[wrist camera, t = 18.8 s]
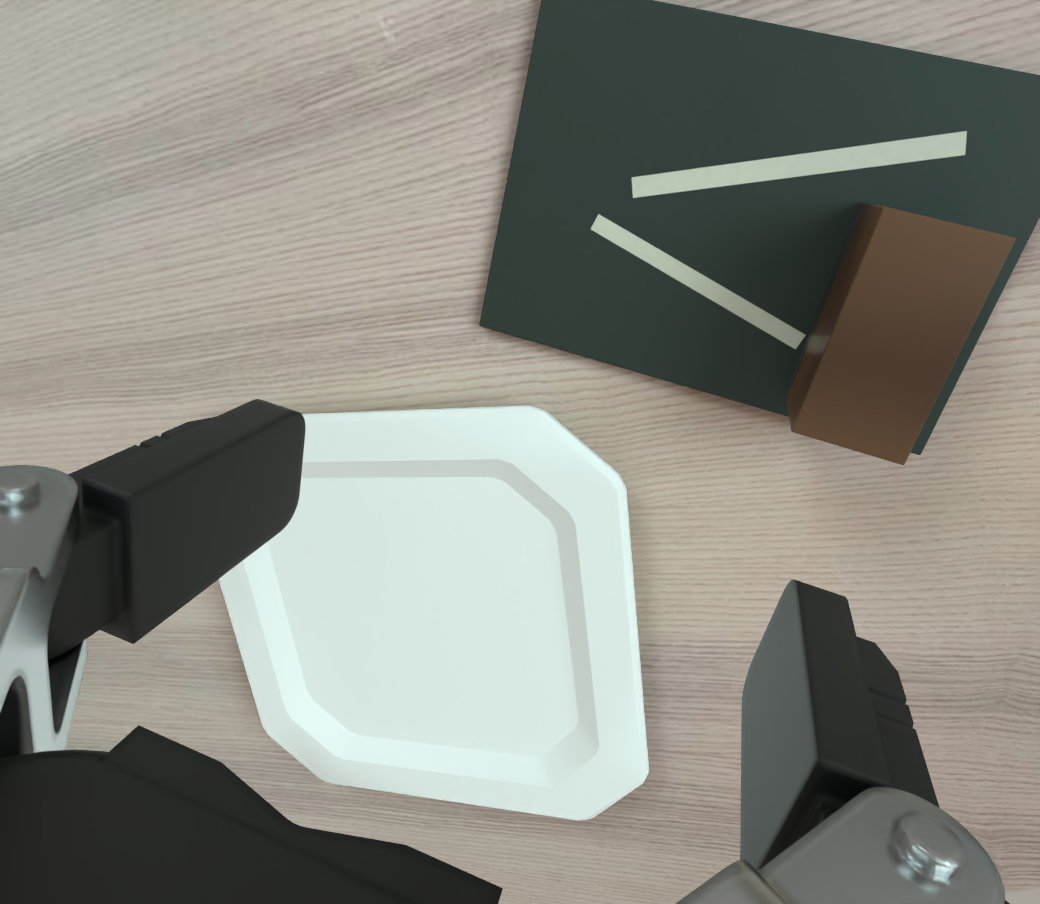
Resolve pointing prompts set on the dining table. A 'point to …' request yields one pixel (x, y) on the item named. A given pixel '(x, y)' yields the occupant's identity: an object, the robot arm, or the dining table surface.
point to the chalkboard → (735, 185)
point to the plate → (451, 613)
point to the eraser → (891, 329)
